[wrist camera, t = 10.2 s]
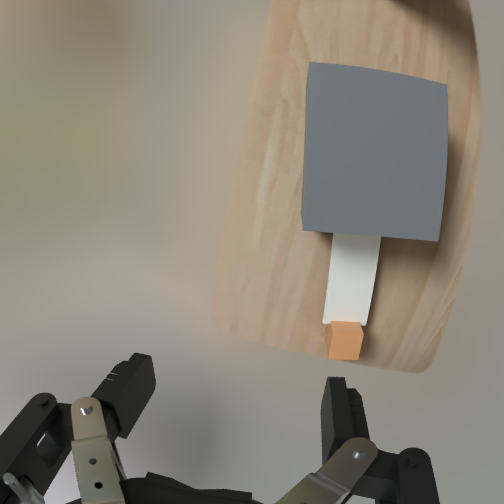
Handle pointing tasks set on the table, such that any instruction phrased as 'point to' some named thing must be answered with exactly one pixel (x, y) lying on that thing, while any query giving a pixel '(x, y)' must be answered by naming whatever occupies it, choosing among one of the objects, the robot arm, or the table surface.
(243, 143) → the table surface
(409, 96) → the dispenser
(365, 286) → the white and orange bar
